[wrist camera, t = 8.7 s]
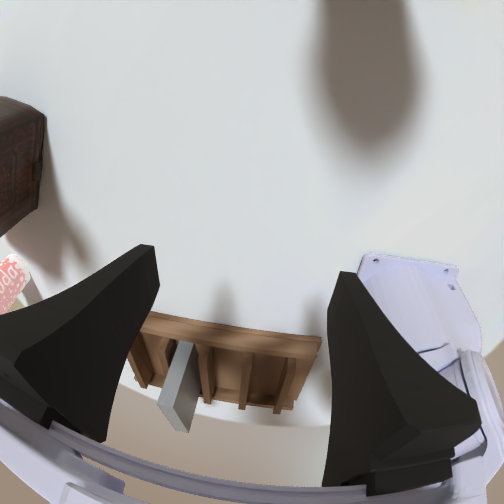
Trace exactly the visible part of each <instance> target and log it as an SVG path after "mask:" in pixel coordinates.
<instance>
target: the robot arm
mask: <svg viewBox="0 0 504 504" xmlns="http://www.w3.org/2000/svg"><path fill="white" fill-rule="evenodd" d="M374 259H377V261H373V260H374ZM444 270H446V271H444ZM458 272H459V269H458V268H457V266H454V265H448V264H441V263H435V262H429V261H422V260H416V259H409V258H403V257H396V256H389V255H383V254H376V253H367V254H365V255H364V257H363V259H362V262H361V265H360V268H359V271H358V274H357V275H356V273H352V272H344V271H340V273H339V276H338V279H337V283H336V286H335V289H334V292H333V295H332V298H331V301H330V304H329V306H328V309H327V336H328V346H329V355H330V365H331V376H332V412H331V425H330V436H329V444H328V452H327V459H326V465H325V470H324V476H323V481H322V487H288V486H287V487H286V486H271V485H261V484H252V483H243V482H236V481H230V480H224V479H218V478H212V477H207V476H202V475H198V474H193V473H189V472H185V471H181V470H177V469H173V468H169V467H166V466H162V465H159V464H155V463H152V462H149V461H146V460H143V459H140V458H137V457H134V456H131V455H129V454H126V453H123V452H120V451H117V450H115V449H113V448H110V447H108V446H105V445H103V444H101V443H102V442H104V441H105V440H106V437H107V429H108V424H109V419H110V413H111V409H112V405H113V401H114V396H115V392H116V389H117V386H118V382H119V379H120V376H121V373H122V370H123V367H124V364H125V361H126V358H127V356H128V354H129V351H130V349H131V347H132V345H133V343H134V341H135V339H136V337H137V335H138V333H139V331H140V329H141V327H142V325H143V324H144V322H145V320H146V318H147V316H148V314H149V312H150V310H151V308H152V306H153V303H154V301H155V298H156V295H157V293H158V290H159V287H160V282H159V276H158V270H157V263H156V256H155V249H154V246H151V245H144V244H140V245H138V246H136V247H134V248H133V249H131V250H130V251H128V252H126V253H125V254H123V255H122V256H120V257H119V258H117V259H116V260H114V261H113V262H111V263H110V264H108V265H107V266H105V267H104V268H102V269H100V270H99V271H97V272H96V273H94V274H92V275H91V276H89V277H87V278H86V279H84V280H83V281H81V282H79V283H78V284H76V285H74V286H72V287H70V288H68V289H66V290H65V291H63V292H61V293H59V294H57V295H54V296H52V297H50V298H48V299H45V300H43V301H41V302H38V303H36V304H33V305H31V306H28V307H25V308H22V309H19V310H16V311H13V312H9V313H5V314H1V315H0V460H1V461H2V462H3V463H4V464H5V465H6V466H7V467H8V468H9V469H10V470H11V471H12V472H13V473H14V474H16V475H17V476H18V477H19V478H20V479H21V480H22V481H24V482H25V483H26V484H27V485H28V486H30V487H31V488H32V489H33V490H35V491H36V492H37V493H38V494H40V495H41V496H42V497H44V498H45V499H46V500H48V501H49V502H50V504H149V503H146V502H143V501H140V500H137V499H135V498H132V497H129V496H127V495H124V494H123V490H124V487H125V482H124V481H122V480H120V479H118V478H116V477H114V476H112V475H110V474H108V473H107V472H105V471H104V470H102V469H100V468H98V467H96V466H94V465H92V464H90V463H88V462H86V461H84V460H83V458H82V456H81V455H83V456H85V457H87V458H89V459H91V460H93V461H96V462H98V463H100V464H102V465H104V466H107V467H109V468H112V469H114V470H116V471H119V472H122V473H124V474H127V475H130V476H132V477H135V478H138V479H141V480H144V481H147V482H150V483H153V484H156V485H160V486H163V487H167V488H170V489H174V490H178V491H181V492H186V493H190V494H194V495H198V496H203V497H208V498H214V499H219V500H225V501H231V502H238V503H246V504H487V496H486V485H487V484H488V483H489V481H490V480H491V479H492V478H493V476H494V475H495V474H496V472H497V471H498V470H499V468H500V467H501V465H502V464H503V462H504V411H503V407H502V403H501V400H500V396H499V393H498V390H497V388H496V385H495V382H494V380H493V378H492V375H491V373H490V370H489V368H488V366H487V364H486V362H485V360H484V359H483V357H482V355H481V350H482V332H481V327H480V324H479V322H478V320H477V318H476V316H475V314H474V312H473V310H472V308H471V306H470V304H469V302H468V300H467V298H466V297H465V295H464V293H463V291H462V289H461V287H460V286H459V284H458V282H457V280H456V279H455V278H456V276H457V275H458ZM80 454H81V455H80Z"/></svg>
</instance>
